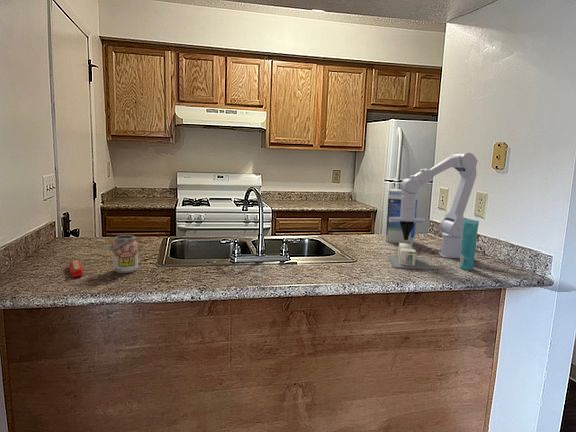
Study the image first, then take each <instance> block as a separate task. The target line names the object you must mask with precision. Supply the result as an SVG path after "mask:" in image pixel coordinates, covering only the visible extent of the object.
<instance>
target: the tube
mask: <svg viewBox="0 0 576 432" xmlns="http://www.w3.org/2000/svg"><path fill="white" fill-rule="evenodd" d="M479 222H480V221H479V220H474V219H471V218H466V217H464V221H463V234H462V235H461V236H462V246H461V256H460V258H459V259H460V260H459V268H460V269H462V270H466V271H472V270H474V267H475V266H474V264H475V255H476V245H477V238H478V230H479V224H480V223H479Z"/></svg>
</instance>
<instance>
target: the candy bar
mask: <svg viewBox="0 0 576 432" xmlns="http://www.w3.org/2000/svg"><path fill="white" fill-rule="evenodd" d="M68 269H69V273H70V275H71V277H72V278H73V277H76V278H79V277H82V276H83V275H84V270H83V268H82V264H81V262H80V260H78V259H75V260H72V261H69V262H68Z"/></svg>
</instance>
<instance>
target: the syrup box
mask: <svg viewBox="0 0 576 432" xmlns="http://www.w3.org/2000/svg"><path fill="white" fill-rule="evenodd" d="M397 249H398V252H397V257H398V258H399V262H400V265H413V266H415V258H417V257H416V254H417V251H416V248H415V246H414V243H413V244H407V243H398V248H397Z"/></svg>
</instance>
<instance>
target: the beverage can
mask: <svg viewBox="0 0 576 432" xmlns="http://www.w3.org/2000/svg"><path fill="white" fill-rule="evenodd" d="M138 247H139V246H138V242H137V241H136V237H135V235H132V234H127V235H126V234H123V235H117V236H115V237H114V242H112V243H111V244H110V245H109V247H108V250H109V251H112V268H113V271H114V272H115V273H117V274H131V273H134V272H137V270H138V269H139V248H138Z"/></svg>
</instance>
